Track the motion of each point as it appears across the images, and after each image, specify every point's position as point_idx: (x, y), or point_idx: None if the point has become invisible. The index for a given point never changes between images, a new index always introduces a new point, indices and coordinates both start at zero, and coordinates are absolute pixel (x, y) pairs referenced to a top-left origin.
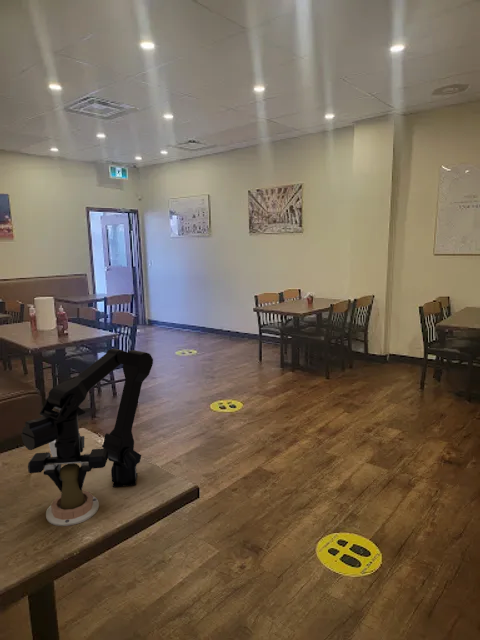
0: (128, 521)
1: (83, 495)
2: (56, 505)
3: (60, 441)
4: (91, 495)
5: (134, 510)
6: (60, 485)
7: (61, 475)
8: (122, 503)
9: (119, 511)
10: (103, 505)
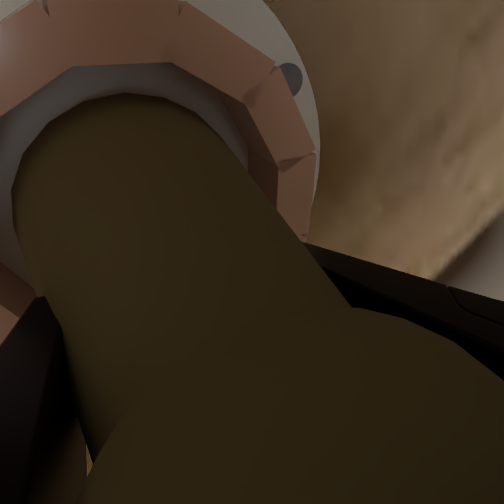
0: (440, 268)
1: (211, 85)
2: (4, 311)
3: None
4: (304, 136)
5: (479, 182)
6: (84, 471)
7: None
8: (441, 106)
9: (416, 192)
10: (336, 123)
